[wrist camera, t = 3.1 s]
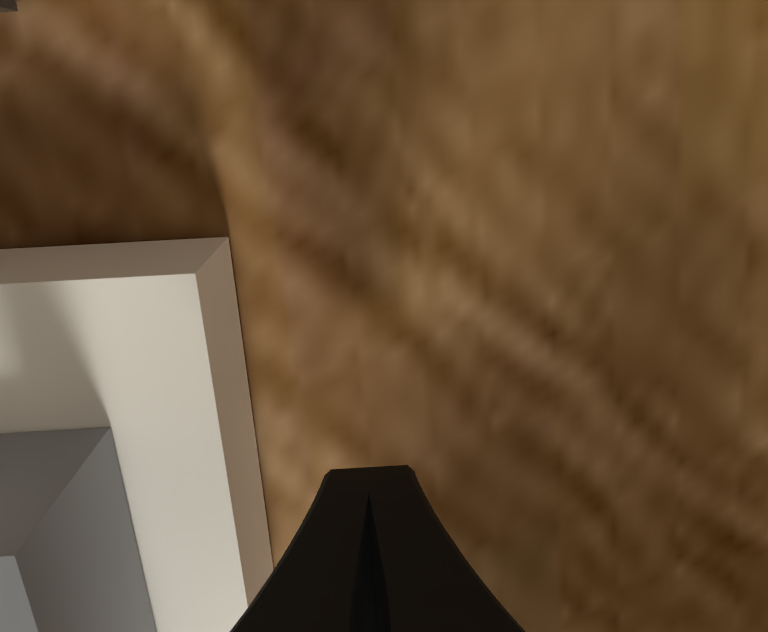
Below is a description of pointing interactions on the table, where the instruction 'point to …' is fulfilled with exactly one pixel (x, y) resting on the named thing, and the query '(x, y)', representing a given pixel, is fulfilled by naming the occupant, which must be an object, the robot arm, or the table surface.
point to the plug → (8, 5)
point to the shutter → (67, 536)
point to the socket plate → (149, 405)
